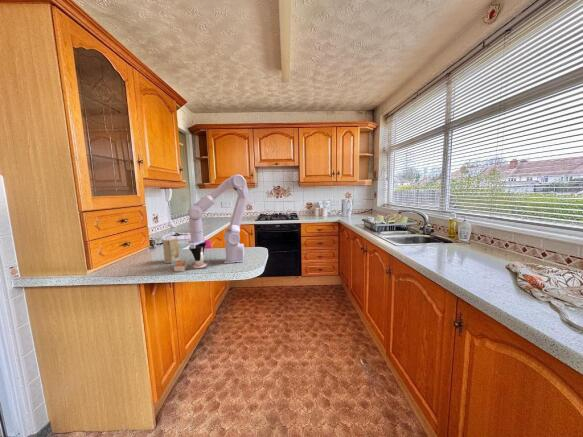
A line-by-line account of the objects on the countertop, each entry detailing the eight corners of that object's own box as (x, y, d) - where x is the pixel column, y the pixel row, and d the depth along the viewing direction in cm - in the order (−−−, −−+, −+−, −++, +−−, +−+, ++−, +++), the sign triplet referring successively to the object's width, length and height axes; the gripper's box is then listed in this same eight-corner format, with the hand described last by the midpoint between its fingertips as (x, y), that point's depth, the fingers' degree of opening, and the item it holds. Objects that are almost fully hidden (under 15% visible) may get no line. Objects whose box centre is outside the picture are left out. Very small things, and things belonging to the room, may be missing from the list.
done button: (184, 264, 111) (184, 260, 110) (182, 266, 108) (182, 262, 108) (178, 265, 111) (178, 261, 110) (176, 267, 108) (176, 263, 107)
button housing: (187, 267, 112) (186, 263, 111) (183, 270, 108) (183, 266, 107) (178, 268, 111) (177, 263, 111) (174, 271, 107) (174, 266, 107)
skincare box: (171, 263, 119) (169, 240, 117) (164, 263, 120) (161, 240, 118) (180, 259, 125) (177, 237, 124) (173, 259, 126) (170, 237, 125)
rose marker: (205, 262, 114) (203, 246, 113) (202, 264, 110) (200, 248, 109) (196, 262, 114) (195, 246, 113) (194, 265, 110) (192, 248, 109)
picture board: (212, 261, 120) (212, 260, 120) (206, 268, 110) (206, 267, 109) (194, 262, 119) (194, 261, 119) (187, 269, 109) (186, 268, 109)
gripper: (193, 229, 117) (195, 255, 119) (181, 235, 103) (185, 264, 104) (207, 228, 117) (209, 254, 119) (198, 234, 103) (200, 263, 105)
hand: (199, 259), depth 112 cm, fingers closed on rose marker, 4 cm apart
